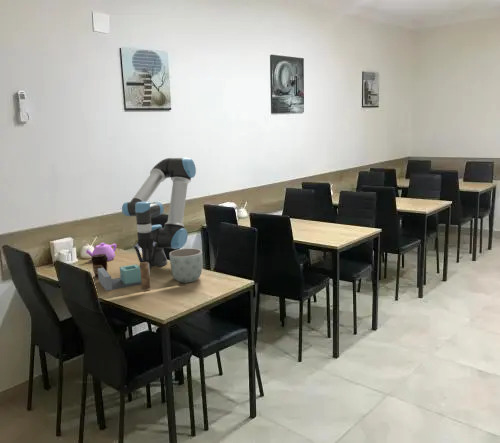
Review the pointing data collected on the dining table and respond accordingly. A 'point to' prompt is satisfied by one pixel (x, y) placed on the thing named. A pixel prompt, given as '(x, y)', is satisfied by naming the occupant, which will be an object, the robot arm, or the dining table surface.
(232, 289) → the dining table surface
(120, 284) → the jig
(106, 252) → the teapot
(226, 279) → the dining table surface
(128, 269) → the block
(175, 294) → the dining table surface
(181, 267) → the planter
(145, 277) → the dowel
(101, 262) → the coffee cup
